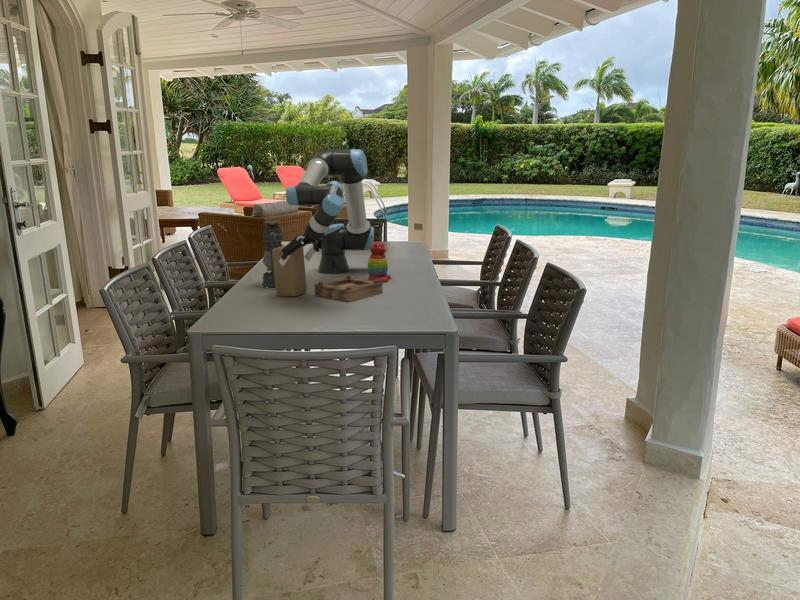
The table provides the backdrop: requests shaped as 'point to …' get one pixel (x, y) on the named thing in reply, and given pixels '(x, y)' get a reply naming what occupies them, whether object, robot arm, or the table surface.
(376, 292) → the base plate
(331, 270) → the robot arm
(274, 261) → the wooden block
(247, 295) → the table surface
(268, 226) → the lantern
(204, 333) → the table surface
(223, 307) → the table surface
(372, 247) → the stacking bear
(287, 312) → the table surface
